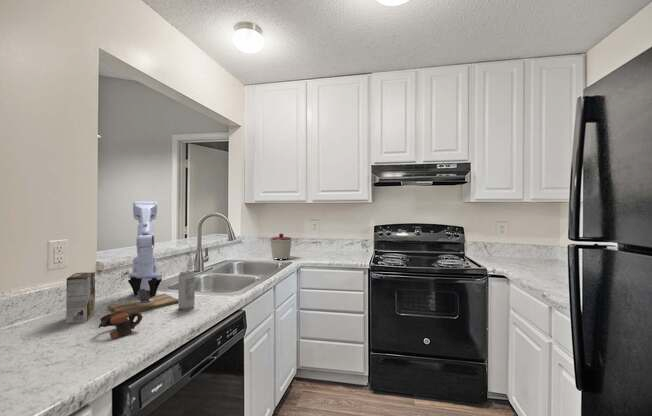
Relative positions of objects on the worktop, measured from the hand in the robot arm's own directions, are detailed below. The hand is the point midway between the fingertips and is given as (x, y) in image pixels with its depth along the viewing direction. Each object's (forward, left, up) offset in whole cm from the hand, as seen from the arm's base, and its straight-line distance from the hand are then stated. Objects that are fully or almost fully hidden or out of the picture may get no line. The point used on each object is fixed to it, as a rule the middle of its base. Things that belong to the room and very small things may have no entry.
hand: (144, 295), depth 127 cm
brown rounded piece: (+25, -15, -4) cm, 29 cm away
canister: (-46, +116, -4) cm, 125 cm away
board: (0, 0, -4) cm, 4 cm away
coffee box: (-1, -21, -4) cm, 21 cm away
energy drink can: (+16, +10, -4) cm, 19 cm away
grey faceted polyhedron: (0, 0, -1) cm, 1 cm away
